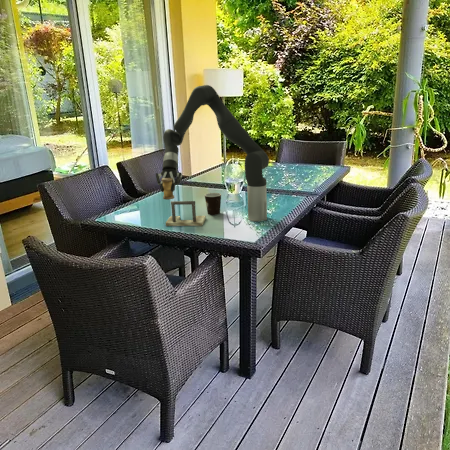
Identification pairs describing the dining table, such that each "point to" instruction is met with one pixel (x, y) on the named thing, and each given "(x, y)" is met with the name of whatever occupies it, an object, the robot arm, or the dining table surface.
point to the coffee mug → (213, 203)
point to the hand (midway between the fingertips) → (167, 191)
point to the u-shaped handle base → (176, 220)
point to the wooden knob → (167, 188)
